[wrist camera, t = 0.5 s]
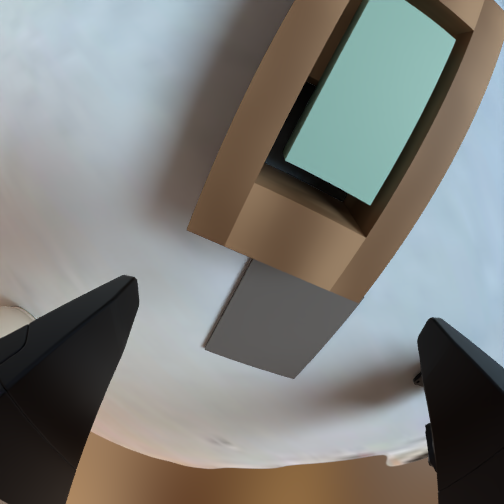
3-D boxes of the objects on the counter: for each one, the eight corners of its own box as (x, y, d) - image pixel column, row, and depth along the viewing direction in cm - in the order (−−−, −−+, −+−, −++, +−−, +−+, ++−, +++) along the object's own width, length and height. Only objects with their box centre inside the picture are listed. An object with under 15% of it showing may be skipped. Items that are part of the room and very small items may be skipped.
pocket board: (464, 26, 11) (510, 17, 7) (340, 256, 20) (358, 303, 16) (338, -55, 10) (357, -93, 5) (207, 196, 19) (186, 230, 14)
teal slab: (432, 45, 11) (456, 39, 8) (356, 190, 15) (370, 205, 13) (363, -2, 10) (378, -17, 8) (282, 151, 15) (284, 160, 12)
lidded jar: (28, 355, 31) (-2, 402, 22) (-13, 293, 26) (-53, 338, 18) (75, 359, 29) (43, 419, 21) (28, 285, 24) (-23, 344, 16)
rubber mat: (363, 294, 22) (364, 297, 21) (293, 375, 27) (293, 378, 26) (258, 248, 20) (257, 251, 20) (205, 346, 25) (204, 349, 25)
